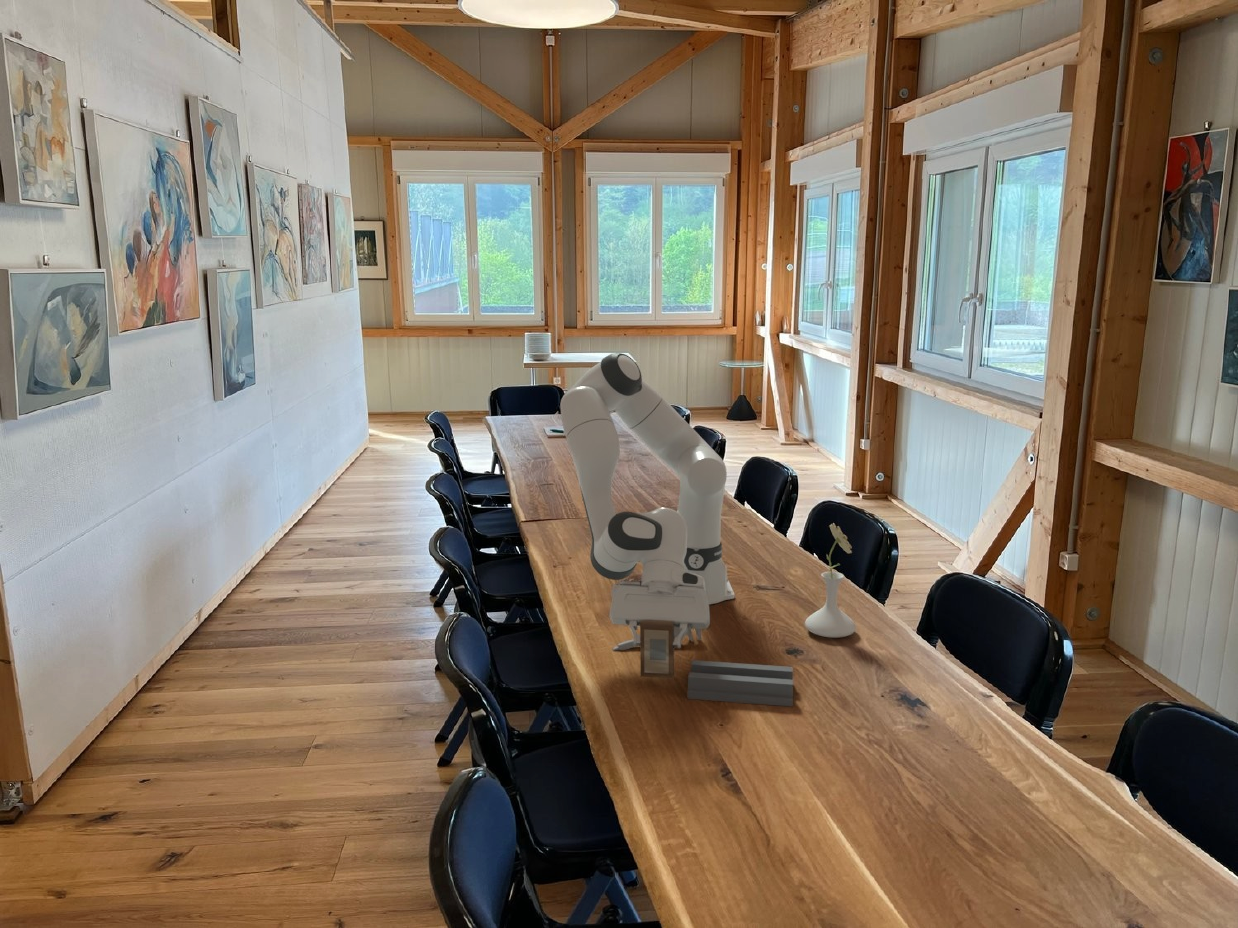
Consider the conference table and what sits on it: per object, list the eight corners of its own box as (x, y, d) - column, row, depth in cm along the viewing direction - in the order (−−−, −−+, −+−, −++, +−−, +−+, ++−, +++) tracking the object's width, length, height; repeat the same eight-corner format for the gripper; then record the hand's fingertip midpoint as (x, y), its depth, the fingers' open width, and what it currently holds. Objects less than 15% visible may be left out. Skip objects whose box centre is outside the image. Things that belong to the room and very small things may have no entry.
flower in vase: (856, 644, 200) (862, 535, 195) (804, 640, 202) (808, 532, 197) (853, 622, 212) (859, 519, 207) (804, 618, 214) (808, 517, 209)
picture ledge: (692, 676, 184) (692, 657, 183) (791, 683, 181) (792, 664, 180) (687, 698, 174) (687, 679, 174) (792, 706, 171) (793, 686, 170)
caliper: (699, 639, 203) (699, 613, 202) (701, 641, 202) (701, 615, 201) (612, 650, 198) (612, 623, 196) (613, 652, 197) (613, 625, 195)
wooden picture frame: (642, 671, 182) (641, 619, 179) (673, 673, 181) (673, 621, 178) (640, 676, 179) (640, 624, 177) (672, 678, 178) (672, 626, 176)
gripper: (610, 573, 185) (602, 636, 177) (711, 577, 181) (707, 642, 174) (614, 586, 190) (607, 648, 182) (712, 591, 186) (708, 654, 179)
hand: (656, 645), depth 178 cm, fingers closed on wooden picture frame, 6 cm apart
